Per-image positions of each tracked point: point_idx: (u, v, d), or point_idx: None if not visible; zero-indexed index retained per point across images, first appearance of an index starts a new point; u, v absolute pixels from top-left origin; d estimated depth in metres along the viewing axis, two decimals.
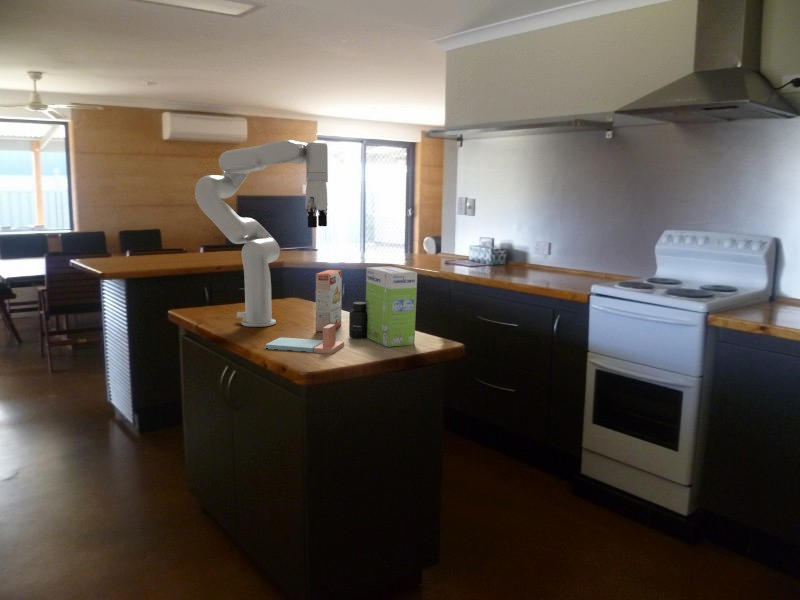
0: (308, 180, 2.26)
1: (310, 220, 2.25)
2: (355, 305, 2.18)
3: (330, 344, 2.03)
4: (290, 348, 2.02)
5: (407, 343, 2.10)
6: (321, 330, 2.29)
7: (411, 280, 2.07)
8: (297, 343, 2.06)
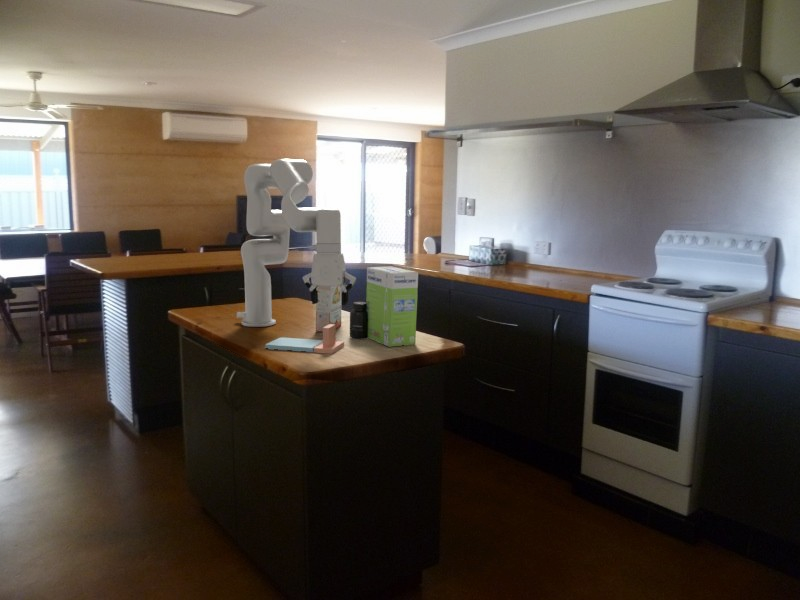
0: (336, 252, 1.97)
1: (346, 297, 2.00)
2: (356, 305, 2.18)
3: (330, 344, 2.03)
4: (290, 348, 2.02)
5: (408, 343, 2.10)
6: (321, 330, 2.29)
7: (412, 280, 2.08)
8: (297, 343, 2.06)
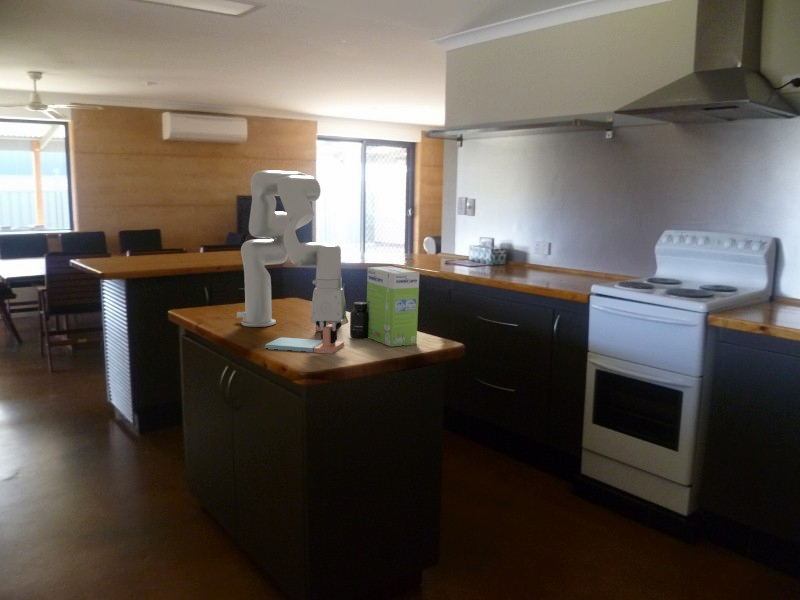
0: (336, 288, 1.99)
1: (335, 335, 2.03)
2: (356, 305, 2.18)
3: (330, 344, 2.03)
4: (290, 348, 2.02)
5: (409, 343, 2.11)
6: None
7: (414, 280, 2.08)
8: (297, 343, 2.06)
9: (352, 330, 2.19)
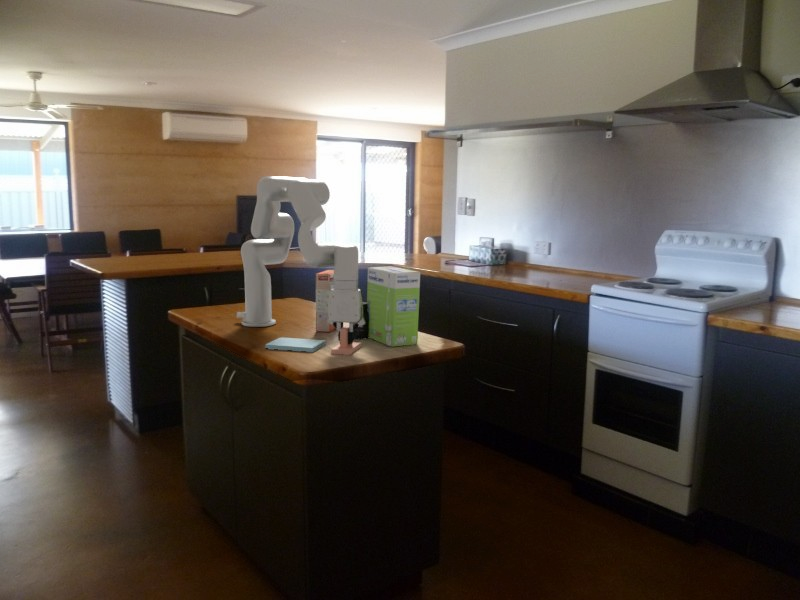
0: (353, 289, 1.97)
1: (353, 336, 2.02)
2: None
3: (347, 345, 2.01)
4: (290, 348, 2.02)
5: (410, 343, 2.11)
6: (321, 330, 2.29)
7: (415, 280, 2.08)
8: (297, 343, 2.06)
9: None
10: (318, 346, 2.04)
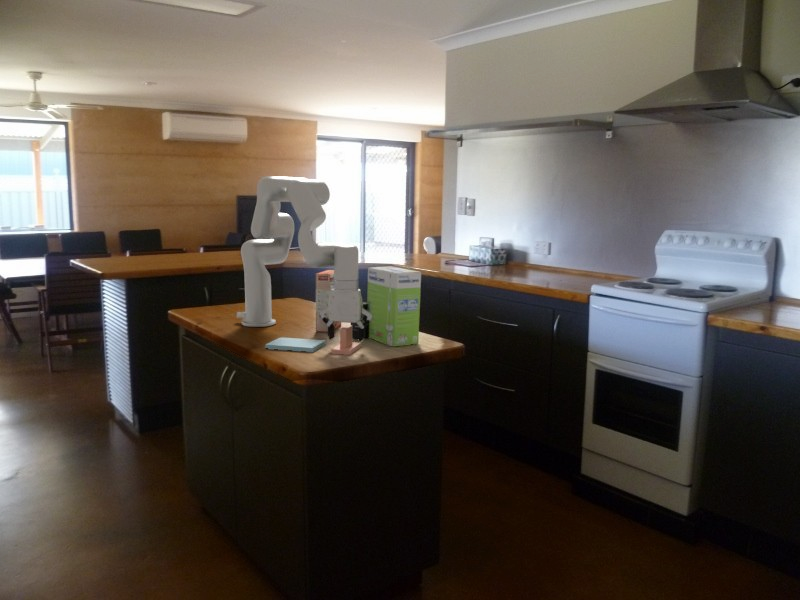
0: (353, 289, 1.97)
1: (363, 333, 2.01)
2: None
3: (347, 345, 2.01)
4: (290, 348, 2.02)
5: (411, 342, 2.11)
6: (321, 330, 2.29)
7: (416, 280, 2.08)
8: (297, 343, 2.06)
9: (353, 330, 2.19)
10: (318, 346, 2.04)
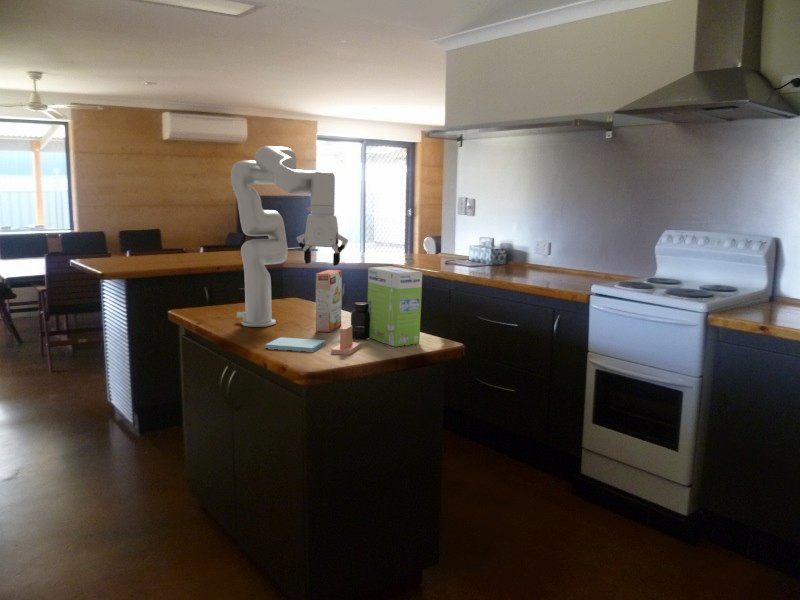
0: (329, 214, 2.05)
1: (338, 257, 2.08)
2: (357, 305, 2.17)
3: (347, 345, 2.01)
4: (290, 348, 2.02)
5: (413, 342, 2.11)
6: (321, 330, 2.29)
7: (417, 280, 2.09)
8: (297, 343, 2.06)
9: (353, 331, 2.18)
10: (318, 346, 2.04)
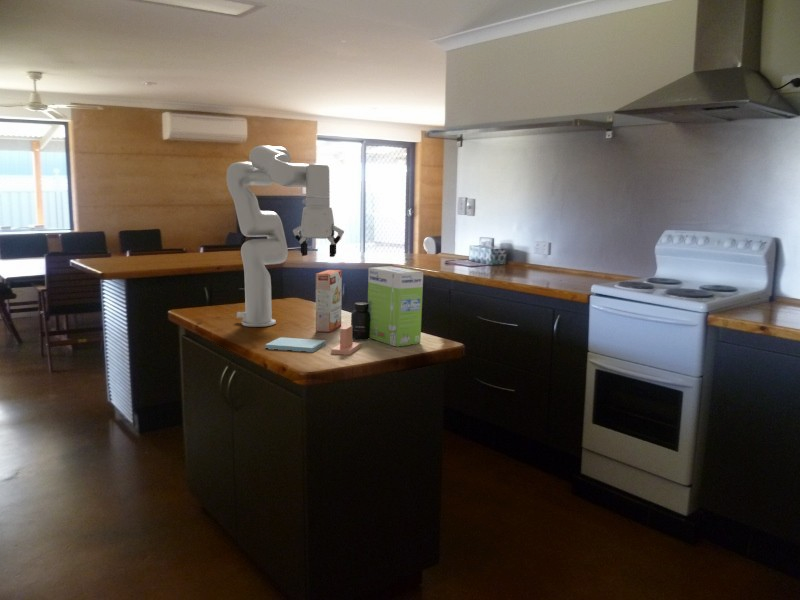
0: (324, 206, 2.06)
1: (334, 249, 2.09)
2: (358, 306, 2.17)
3: (347, 345, 2.01)
4: (290, 348, 2.02)
5: (414, 342, 2.12)
6: (321, 330, 2.29)
7: (418, 280, 2.09)
8: (297, 343, 2.06)
9: (354, 331, 2.18)
10: (318, 346, 2.04)
